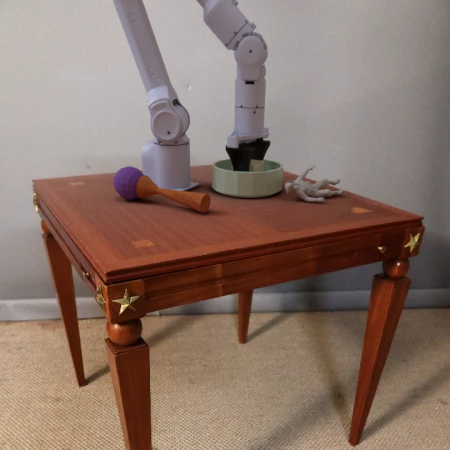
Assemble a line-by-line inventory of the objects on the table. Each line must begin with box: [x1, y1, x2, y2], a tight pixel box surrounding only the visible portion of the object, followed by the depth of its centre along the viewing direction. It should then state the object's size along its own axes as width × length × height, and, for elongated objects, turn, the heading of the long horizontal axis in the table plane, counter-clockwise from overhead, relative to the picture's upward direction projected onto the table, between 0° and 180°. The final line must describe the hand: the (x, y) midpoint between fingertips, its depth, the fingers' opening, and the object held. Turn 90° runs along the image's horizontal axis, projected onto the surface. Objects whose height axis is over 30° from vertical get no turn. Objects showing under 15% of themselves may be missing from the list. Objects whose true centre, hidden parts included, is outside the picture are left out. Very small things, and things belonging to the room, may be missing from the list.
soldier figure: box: [284, 165, 344, 203], centre depth 96 cm, size 8×5×12 cm
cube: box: [232, 159, 265, 172], centre depth 100 cm, size 5×5×5 cm
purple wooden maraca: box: [113, 165, 212, 214], centre depth 90 cm, size 6×6×20 cm
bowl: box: [211, 158, 284, 199], centre depth 100 cm, size 14×14×5 cm
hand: (247, 180), depth 101 cm, fingers closed on cube, 5 cm apart
